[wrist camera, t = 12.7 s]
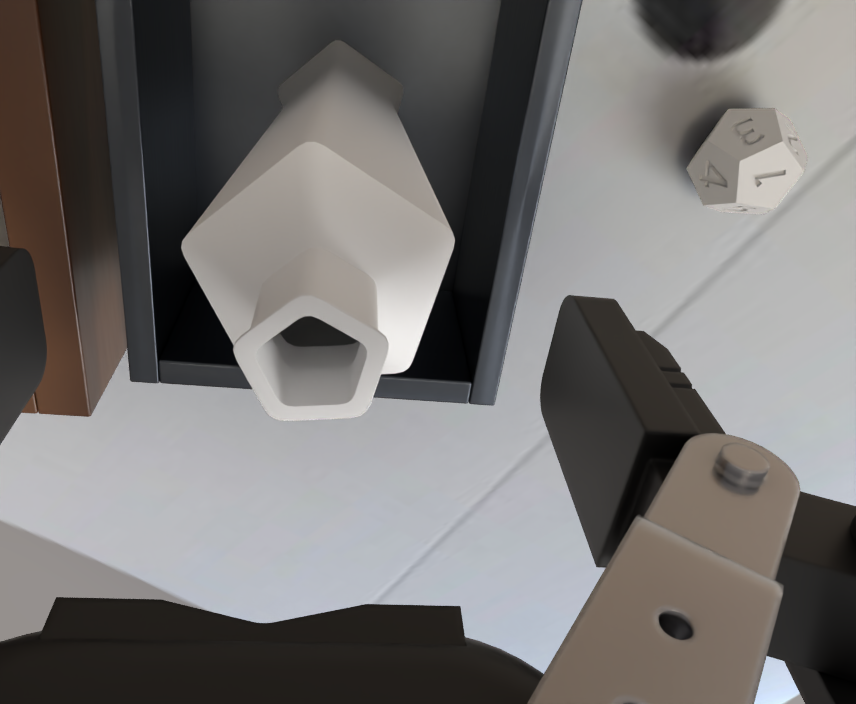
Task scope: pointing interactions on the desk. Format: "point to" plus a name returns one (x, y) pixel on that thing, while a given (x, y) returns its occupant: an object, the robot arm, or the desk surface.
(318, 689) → the robot arm
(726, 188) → the game die
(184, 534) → the desk surface
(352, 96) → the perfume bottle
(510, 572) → the desk surface
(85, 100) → the rack
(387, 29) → the dark grey open box
